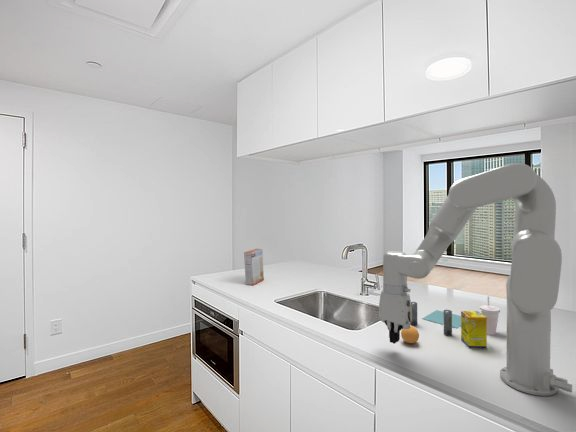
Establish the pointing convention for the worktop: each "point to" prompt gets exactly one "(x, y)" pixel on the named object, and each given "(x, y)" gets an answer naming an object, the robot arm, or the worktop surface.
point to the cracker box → (254, 266)
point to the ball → (410, 335)
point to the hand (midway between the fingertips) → (394, 341)
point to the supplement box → (474, 329)
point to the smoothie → (490, 317)
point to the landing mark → (439, 318)
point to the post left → (414, 314)
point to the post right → (448, 322)
